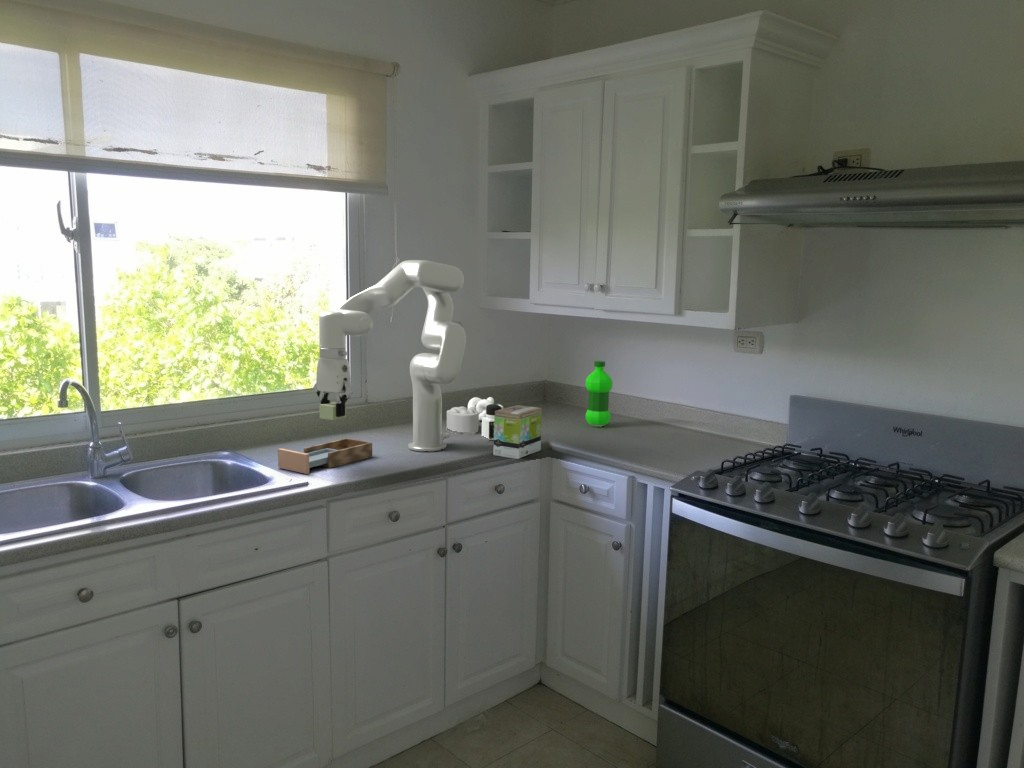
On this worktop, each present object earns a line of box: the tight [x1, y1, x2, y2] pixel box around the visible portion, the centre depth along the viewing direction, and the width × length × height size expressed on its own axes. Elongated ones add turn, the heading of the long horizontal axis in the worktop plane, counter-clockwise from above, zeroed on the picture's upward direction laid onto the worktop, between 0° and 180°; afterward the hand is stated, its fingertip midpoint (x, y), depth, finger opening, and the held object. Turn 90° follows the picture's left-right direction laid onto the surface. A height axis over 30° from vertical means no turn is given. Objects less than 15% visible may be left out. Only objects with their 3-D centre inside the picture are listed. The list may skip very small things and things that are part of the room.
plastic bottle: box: [585, 360, 613, 426], centre depth 302 cm, size 10×10×25 cm
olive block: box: [318, 401, 348, 421], centre depth 234 cm, size 6×6×4 cm
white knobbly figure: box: [467, 396, 495, 420], centre depth 312 cm, size 11×12×9 cm
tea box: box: [492, 404, 543, 460], centre depth 257 cm, size 15×10×15 cm, turn 151°
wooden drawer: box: [277, 447, 338, 475], centre depth 237 cm, size 18×12×6 cm, turn 146°
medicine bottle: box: [481, 403, 504, 439], centre depth 279 cm, size 7×7×12 cm
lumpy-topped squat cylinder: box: [446, 406, 480, 432], centre depth 291 cm, size 10×13×9 cm
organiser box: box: [303, 437, 373, 469], centre depth 245 cm, size 18×11×4 cm, turn 146°
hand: (332, 414), depth 234 cm, fingers closed on olive block, 5 cm apart
